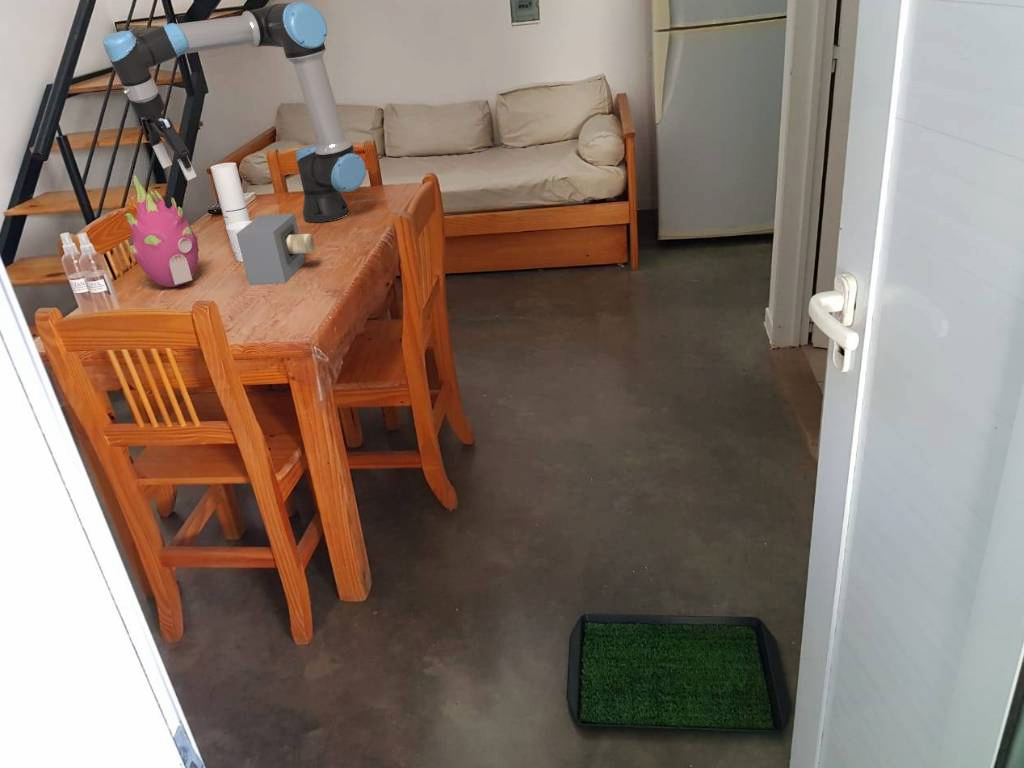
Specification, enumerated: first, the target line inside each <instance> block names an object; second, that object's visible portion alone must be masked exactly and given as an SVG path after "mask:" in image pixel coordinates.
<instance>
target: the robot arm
mask: <svg viewBox="0 0 1024 768" xmlns="http://www.w3.org/2000/svg"><path fill="white" fill-rule="evenodd" d="M326 36H328V25H327V22H326V19H325V16H324V15H323V13H322V12H321V11H320V10H319V9H318V8H317V7H315V5H313V4H311V3H307V2H301V1H295V2H285V3H284V2H281V3H280V2H279V3H274V4H270V5H266V6H264V7H260V8H257V9H252V10H245V11H243V12H242V14H241V15H236V16H235V15H234V16H229V17H227V16H226V17H221V18H219V17H218V18H213V19H205V20H198V21H189V22H183V23H174V22H171V23H168V24H163V25H158V26H152V27H151V26H149V27H144V28H131V29H129V30H120V31H117V32H113V33H111V34H108V35H106V37H104V38H103V42H102V44H103V47H104V50H105V52H106V54H107V58H108V60H109V61H110V63H111V66H112V67H113V69H114V71H115V73H116V75H117V77H118V79H119V81H120V83H121V86H122V88H123V93H124V95H126V96H127V98H128V100H129V101H130V105H131V107H132V110H133V111H134V113H135V115H136V116H137V117H139V120H140V123H141V128H142V131H143V135H144V139H145V141H146V142H147V143H148V142H149V144H150V146H152V149H153V151H154V153H155V155H156V157H157V159H158V162H159V163H160V165H161V167H162V169H166V168H169V167H170V166H172V165H173V163H172V161H171V158H170V156H169V154H168V152H167V150H166V147H165V145H164V143H163V142H162V141H163V140H162V139H164V140H165V142H166V143H167V145H168V146H169V147H170V149H172V151H173V152H174V154H175V155H176V156H175V160H176V161H177V162H178V164H179V167H180V169H181V171H182V174H183V176H184V179H185V180H186V181H190V180H192V179H194V178H196V177H197V174H196V171H195V170H194V167H193V165H192V163H191V160H190V159H189V155H190V154H191V152H190V150H189V149H188V147H187V146H186V144H185V142H184V140H183V139H182V137H181V136H180V134H179V132H177V129H176V128H175V126H174V125H173V122H172V120H171V119H170V118H169V117H167V118H166V117H165V116H163V111H164V110H165V108H166V104H165V102H164V100H163V97H162V95H161V94H160V93H159V88H158V86H157V84H156V82H155V80H154V77H153V75H152V73H151V72H150V71H151V70H150V69H151V68H154V67H156V66H158V65H160V64H164V63H166V62H167V61H170V60H172V59H175V58H180V56H182V55H185V54H186V55H188V54H192V53H199V52H205V51H212V50H219V49H224V48H225V49H226V48H232V47H233V48H234V47H239V46H247V45H249V46H250V47H252V48H259V47H276V48H282V49H283V52H284V56H285V59H286V60H288V61H289V62H291V63H292V64H293V66H294V70H295V72H296V76H297V79H298V83H299V87H300V90H301V94H302V96H303V99H304V103H305V107H306V109H307V113H308V116H309V119H310V123H311V125H312V130H313V132H314V136H315V139H316V142H317V144H312V145H309V146H308V145H307V146H305V147H301V148H298V149H297V150H296V151H295V157H296V163H297V169H298V172H299V177H300V181H301V185H302V190H303V196H304V199H303V205H302V217H303V220H304V221H305V222H308V223H313V222H319V223H326V222H325V221H329V222H332V221H331V220H334V221H336V220H335V219H338V218H341V217H343V216H345V215H347V214H348V213H349V214H350V207H349V205H348V203H347V202H346V199H345V198H344V196H343V194H342V192H344V193H345V192H347V193H349V192H353V191H356V190H357V189H359V187H360V186H362V184H363V182H364V180H365V177H366V175H367V174H366V173H367V169H366V168H367V167H366V164H365V163H366V162H365V160H363V158H362V157H361V156H359V155H358V154H356V152H355V149H354V145H353V142H352V141H350V140H349V139H347V138H346V135H345V132H344V128H343V124H342V121H341V117H340V113H339V110H338V107H337V104H336V100H335V96H334V92H333V89H332V85H331V82H330V79H329V78H330V77H329V75H328V71H327V68H326V65H325V60H324V54H325V52H326V49H327V48H326V45H325V41H326ZM347 216H348V215H347ZM341 219H342V218H341ZM338 220H339V219H338Z"/></svg>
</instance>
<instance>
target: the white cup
mask: <svg viewBox="0 0 1024 768" xmlns="http://www.w3.org/2000/svg"><path fill="white" fill-rule="evenodd" d="M252 221H253V220H250V221H240V222H235V223H232V224H229V225H228V226H226V225H225V229H226V232H227V236H228V238H229V242H231V243H230V247H231V246H232V247H231V249H232V248H233V251H234V252H233V251H232V252H233V253H234V256H235V259H236V261H237V262H238V263H244V262H243V258H242V254H241V250H240V247H239V243H238V239H237V235H236V234H237V233H238V232H239V231H241V230H242V229H243V228H244V227H246V226H247V225H248V224H250V223H251V222H252Z"/></svg>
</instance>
